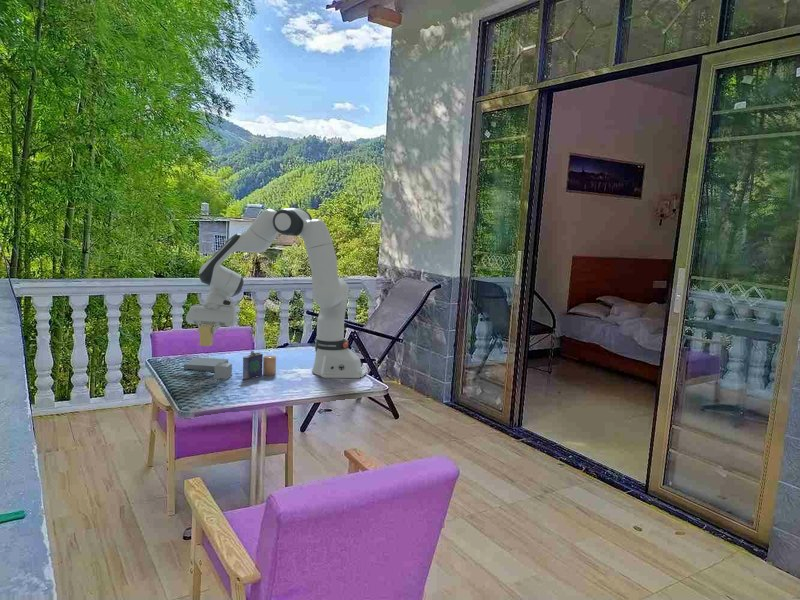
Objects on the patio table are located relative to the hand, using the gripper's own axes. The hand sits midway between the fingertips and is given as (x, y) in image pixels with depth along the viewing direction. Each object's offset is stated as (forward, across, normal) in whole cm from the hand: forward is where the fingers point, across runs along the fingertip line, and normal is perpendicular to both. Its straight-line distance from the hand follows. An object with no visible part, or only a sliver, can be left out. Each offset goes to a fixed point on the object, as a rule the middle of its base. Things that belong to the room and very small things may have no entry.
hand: (206, 332), depth 228 cm
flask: (+18, +23, +2) cm, 29 cm away
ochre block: (+4, 0, +4) cm, 5 cm away
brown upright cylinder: (+14, +28, +7) cm, 32 cm away
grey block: (+19, +12, +1) cm, 23 cm away
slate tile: (+10, 0, +10) cm, 14 cm away
